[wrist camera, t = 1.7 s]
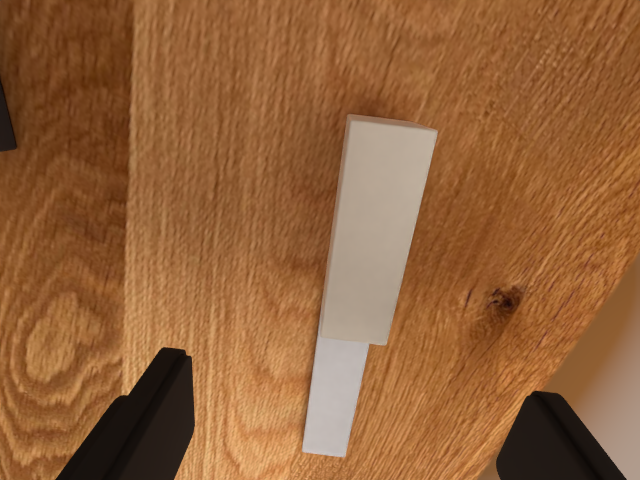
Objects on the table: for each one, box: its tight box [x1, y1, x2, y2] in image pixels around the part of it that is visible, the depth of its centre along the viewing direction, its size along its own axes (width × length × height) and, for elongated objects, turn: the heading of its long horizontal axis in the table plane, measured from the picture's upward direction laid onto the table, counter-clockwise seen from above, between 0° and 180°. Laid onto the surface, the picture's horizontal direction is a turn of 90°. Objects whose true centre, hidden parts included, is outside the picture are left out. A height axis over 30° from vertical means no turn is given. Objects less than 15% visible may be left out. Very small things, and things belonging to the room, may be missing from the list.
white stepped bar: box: [302, 114, 438, 457], centre depth 15 cm, size 19×3×4 cm, turn 174°
